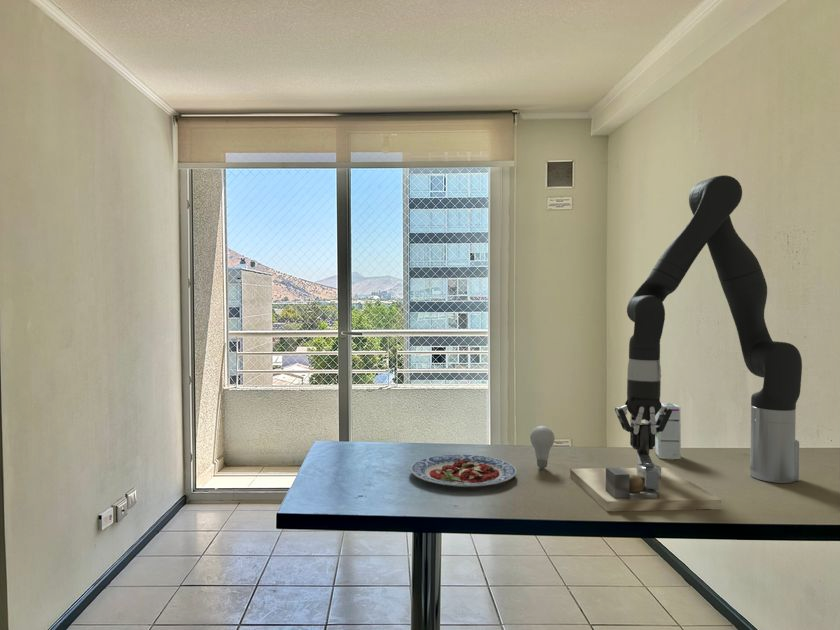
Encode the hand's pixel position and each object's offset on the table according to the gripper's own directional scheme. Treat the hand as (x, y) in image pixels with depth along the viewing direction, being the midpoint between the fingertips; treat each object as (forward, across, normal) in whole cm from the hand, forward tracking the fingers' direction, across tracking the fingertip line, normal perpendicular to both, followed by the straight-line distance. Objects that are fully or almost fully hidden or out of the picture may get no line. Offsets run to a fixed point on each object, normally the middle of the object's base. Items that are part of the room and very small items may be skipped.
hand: (642, 448), depth 137 cm
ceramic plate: (+8, +43, -3) cm, 44 cm away
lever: (+4, +3, +9) cm, 10 cm away
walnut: (+5, +9, +18) cm, 20 cm away
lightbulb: (+8, +22, -8) cm, 25 cm away
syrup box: (+7, -16, -18) cm, 25 cm away
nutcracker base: (+7, +5, +10) cm, 13 cm away
